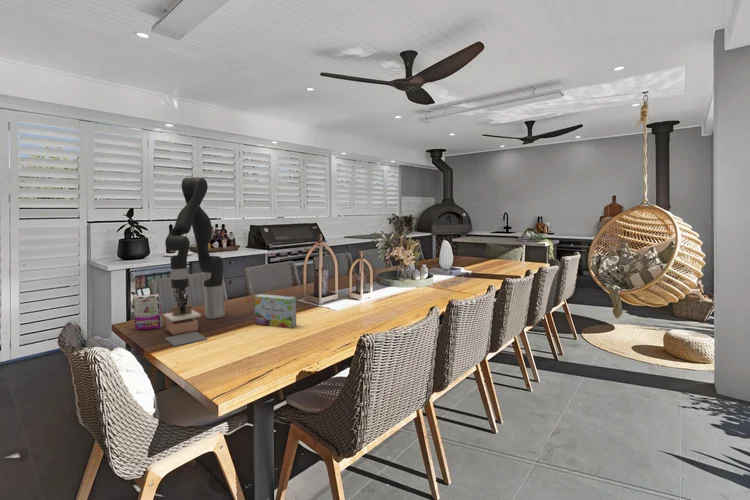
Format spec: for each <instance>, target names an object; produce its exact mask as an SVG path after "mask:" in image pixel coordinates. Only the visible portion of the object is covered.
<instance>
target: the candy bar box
mask: <svg viewBox="0 0 750 500" xmlns="http://www.w3.org/2000/svg"><path fill="white" fill-rule="evenodd" d="M161 298H162V297H161V294H160V293H159V294H144V295H143V294H142V295H135V296H133V298H132V299H133V301H132V302H133V313H134V315H133V316H134V326H135V331H147V330H148V331H149V330H160V329H161V328H162V327H163V315H162V312H163V311H162V300H161Z"/></svg>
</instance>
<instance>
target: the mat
mask: <svg viewBox="0 0 750 500" xmlns="http://www.w3.org/2000/svg"><path fill="white" fill-rule="evenodd" d="M164 340H165V341H166V342H167V343H169V344H170V345H171V346H172V347H174V348H176V347H180V346H185V345H189V344H194V343H199V342H203V341H208V338H207V337H206V336H204V335H203V334H201V333H199V332H198V331H195V332H190V333H185V334H180V335H175V336H173V335H172V336H167V337H164Z"/></svg>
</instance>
